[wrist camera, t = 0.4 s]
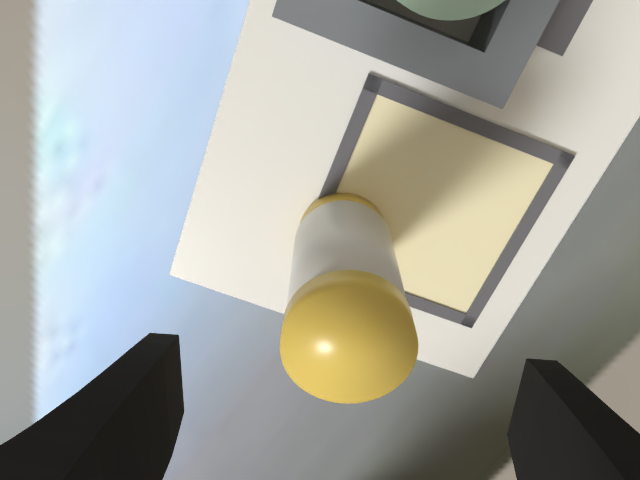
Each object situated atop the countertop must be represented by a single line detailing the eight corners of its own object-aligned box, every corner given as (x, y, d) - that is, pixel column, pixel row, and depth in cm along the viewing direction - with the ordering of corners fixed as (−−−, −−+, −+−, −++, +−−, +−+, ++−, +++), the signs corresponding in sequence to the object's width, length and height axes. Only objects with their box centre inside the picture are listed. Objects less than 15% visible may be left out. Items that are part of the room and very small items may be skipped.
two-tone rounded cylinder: (385, 277, 21) (410, 406, 15) (293, 273, 21) (278, 400, 15) (395, 190, 20) (426, 292, 14) (295, 186, 20) (281, 286, 14)
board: (471, 373, 24) (473, 380, 23) (171, 271, 22) (168, 276, 22) (766, -95, 16) (776, -96, 16) (339, -298, 15) (339, -305, 14)
